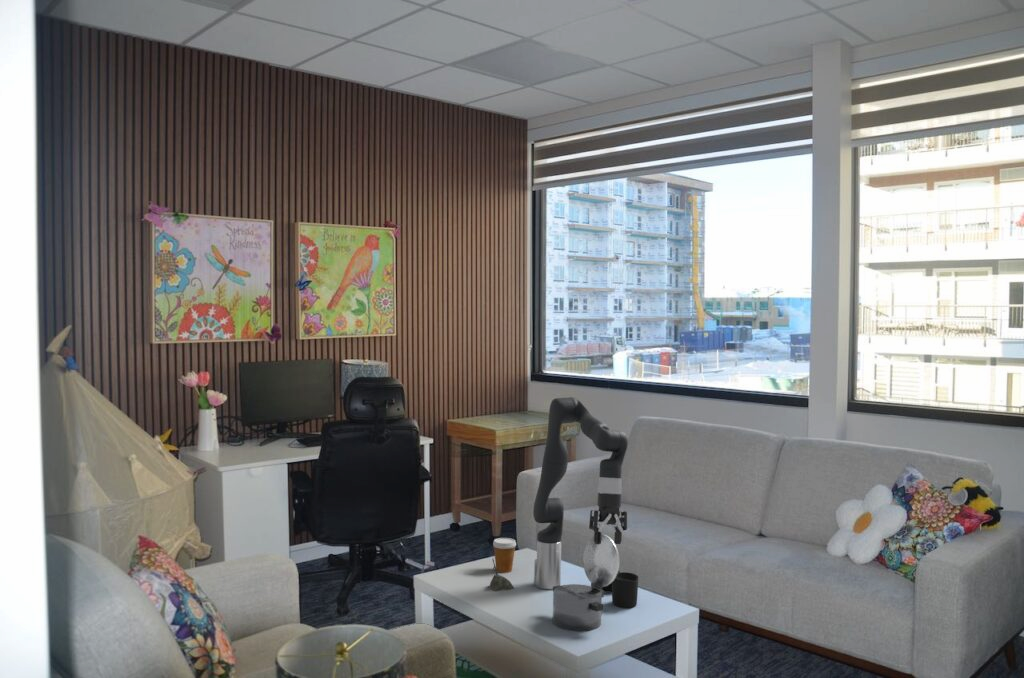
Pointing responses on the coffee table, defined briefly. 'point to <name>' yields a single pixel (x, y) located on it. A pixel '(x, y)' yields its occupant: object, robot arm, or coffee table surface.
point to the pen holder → (625, 590)
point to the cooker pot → (577, 607)
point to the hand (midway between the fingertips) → (607, 544)
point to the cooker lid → (601, 561)
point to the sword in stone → (499, 582)
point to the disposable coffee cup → (504, 554)
